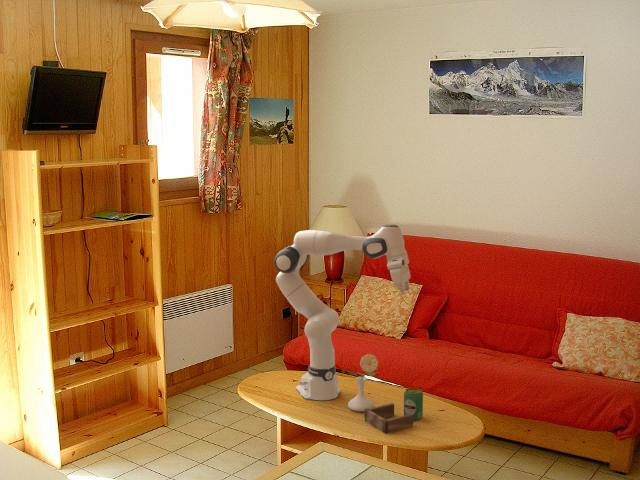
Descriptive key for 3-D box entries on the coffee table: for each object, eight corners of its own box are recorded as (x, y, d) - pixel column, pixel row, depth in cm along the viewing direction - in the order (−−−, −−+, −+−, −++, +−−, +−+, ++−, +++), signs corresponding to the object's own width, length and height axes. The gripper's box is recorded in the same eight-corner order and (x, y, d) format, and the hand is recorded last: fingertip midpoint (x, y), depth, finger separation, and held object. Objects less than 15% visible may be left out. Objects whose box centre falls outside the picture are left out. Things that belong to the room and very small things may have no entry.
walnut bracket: (364, 420, 318) (364, 409, 318) (392, 414, 325) (392, 403, 324) (385, 433, 306) (385, 421, 305) (413, 426, 312) (413, 415, 312)
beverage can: (400, 419, 320) (400, 391, 318) (408, 412, 327) (408, 386, 325) (418, 422, 316) (418, 395, 314) (425, 416, 323) (426, 389, 321)
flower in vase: (346, 413, 327) (346, 357, 323) (349, 403, 338) (349, 349, 334) (376, 414, 325) (377, 358, 321) (378, 404, 336) (379, 350, 332)
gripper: (396, 259, 336) (403, 289, 337) (386, 266, 317) (393, 298, 317) (409, 256, 334) (416, 287, 335) (400, 263, 315) (408, 295, 315)
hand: (405, 292), depth 326 cm, fingers open, 8 cm apart
